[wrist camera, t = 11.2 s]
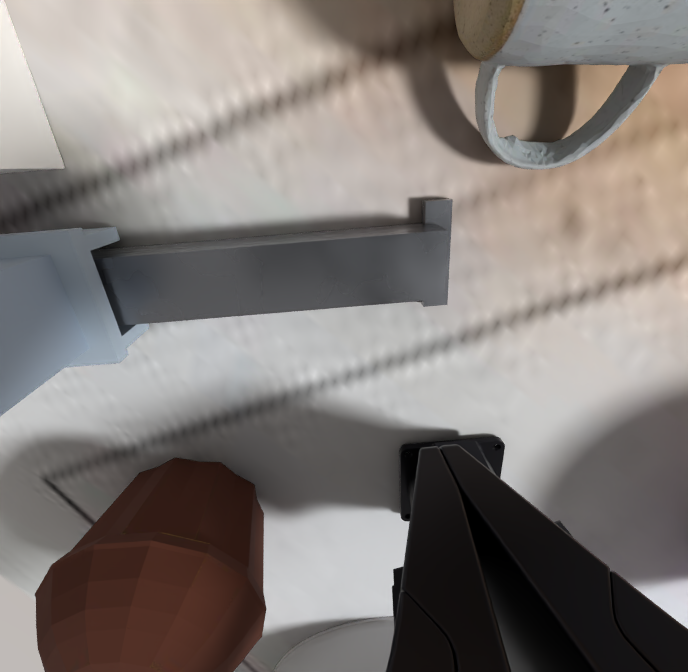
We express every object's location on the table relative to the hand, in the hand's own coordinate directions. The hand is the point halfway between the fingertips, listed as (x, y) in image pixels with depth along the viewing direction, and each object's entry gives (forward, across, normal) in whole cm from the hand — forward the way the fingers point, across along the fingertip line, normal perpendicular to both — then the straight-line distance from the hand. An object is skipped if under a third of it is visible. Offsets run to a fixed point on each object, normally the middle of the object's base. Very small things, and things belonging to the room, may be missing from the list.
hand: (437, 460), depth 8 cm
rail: (+12, +10, -2) cm, 15 cm away
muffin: (+12, +13, +14) cm, 22 cm away
